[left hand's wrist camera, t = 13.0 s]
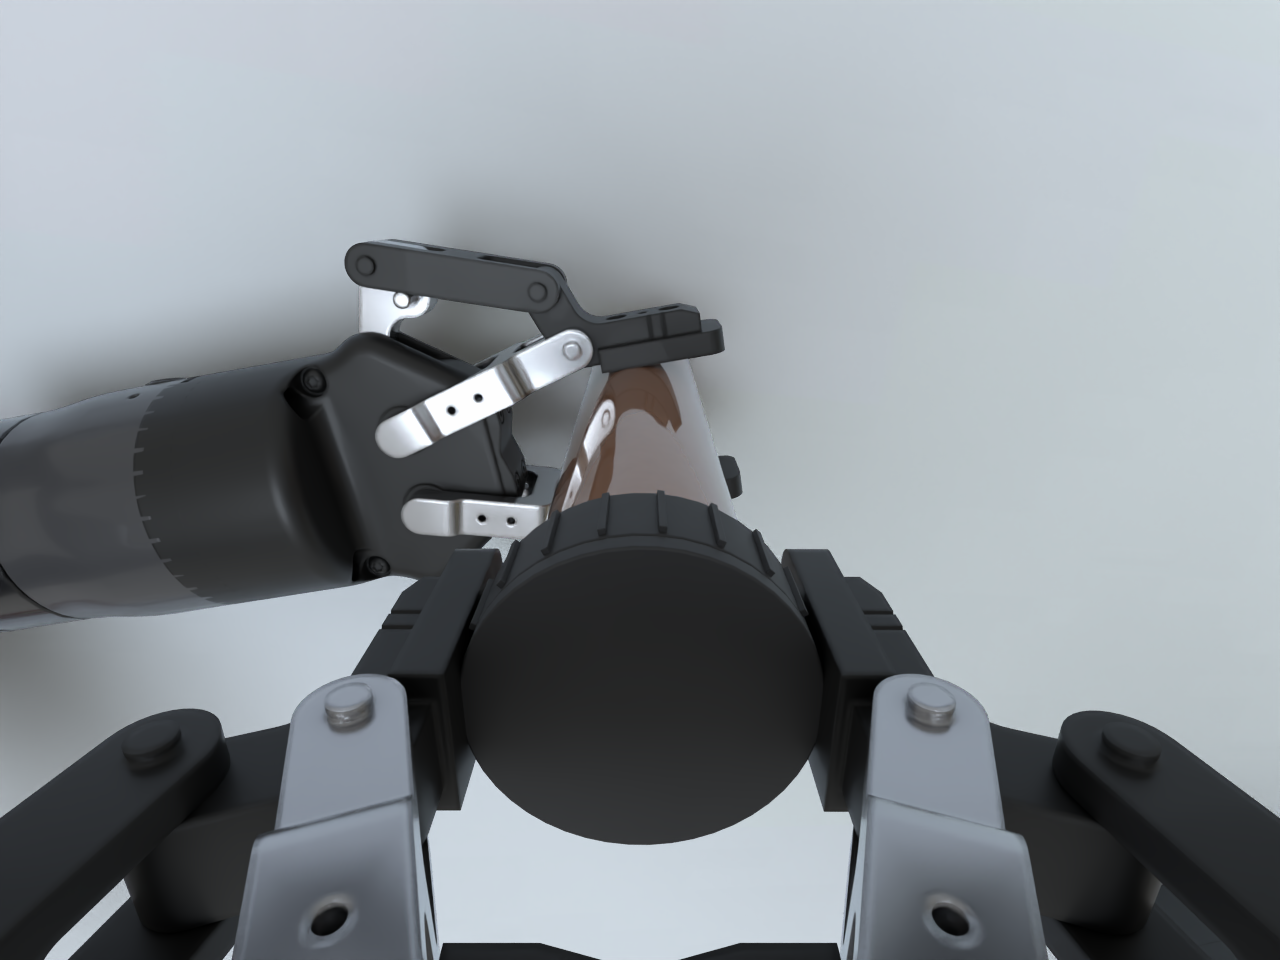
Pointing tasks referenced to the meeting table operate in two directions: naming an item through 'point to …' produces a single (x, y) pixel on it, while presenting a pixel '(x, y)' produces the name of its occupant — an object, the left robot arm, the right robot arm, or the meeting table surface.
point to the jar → (642, 440)
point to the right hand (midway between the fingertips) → (726, 406)
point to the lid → (641, 672)
